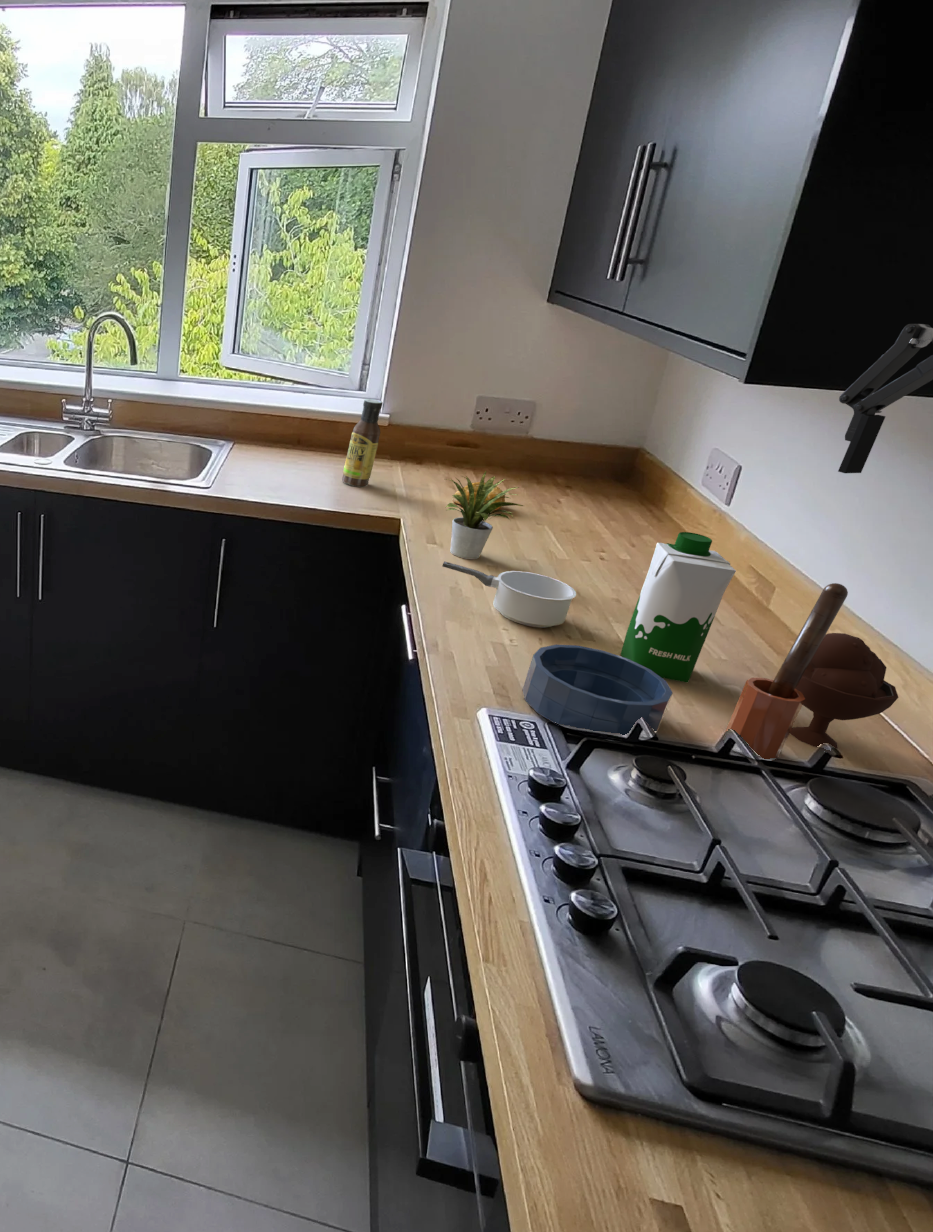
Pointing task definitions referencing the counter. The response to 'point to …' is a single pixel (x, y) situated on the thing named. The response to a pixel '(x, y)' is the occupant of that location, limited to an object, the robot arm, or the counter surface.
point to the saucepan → (526, 596)
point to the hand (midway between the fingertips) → (917, 491)
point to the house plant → (475, 518)
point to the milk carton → (677, 606)
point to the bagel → (475, 486)
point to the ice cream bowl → (842, 686)
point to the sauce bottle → (363, 445)
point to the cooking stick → (808, 640)
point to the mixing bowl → (594, 689)
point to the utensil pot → (765, 717)
